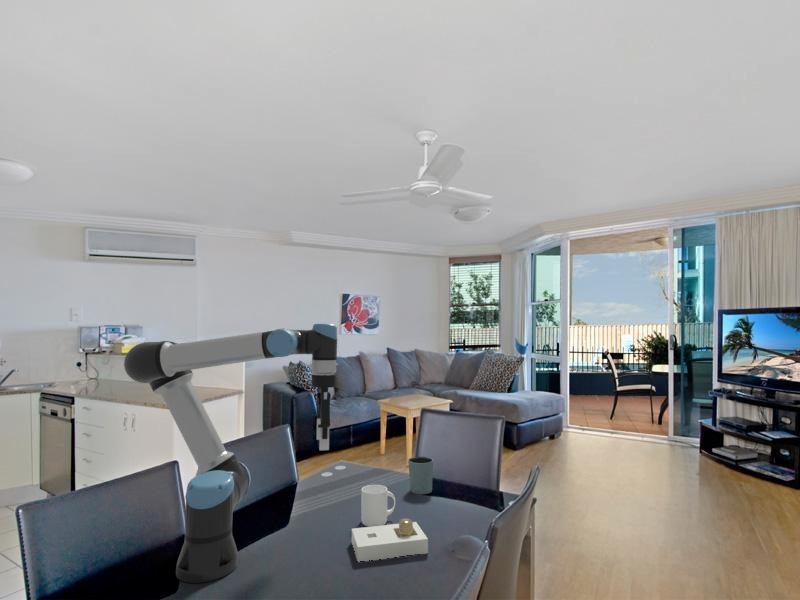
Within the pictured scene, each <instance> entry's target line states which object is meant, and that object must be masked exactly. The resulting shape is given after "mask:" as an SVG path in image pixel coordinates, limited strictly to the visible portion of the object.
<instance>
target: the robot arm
mask: <svg viewBox="0 0 800 600" xmlns="http://www.w3.org/2000/svg"><path fill="white" fill-rule="evenodd" d="M337 354H338V327H337V325H336V324H333V323H314V324H313V325H312V328H311V329H307V330H306V329H288V328H278V329H275V330H269V331H268V330H267V331H262V332H261V331H260V332H255V333H253V332H252V333H247V334H246V333H245V334H239V335H234V336H227V337H218V338H212V339H203V340H198V341H190V342H182V343H178V342H175V341H170V340H162V341H145V342H141V343H137V344H136V345H134V346H133V347H131V349H129V351H128V352H127V353H126V355H125V356H124V362H123V367H124V371H125V373H126V374H127V376H128V377H129V378H130V379H132V381H133V380H134V381H135V382H137V383H141V384H149V386H150V388H151V389H152V392H153V393H154V394H157V395H160V396H162V398H163V400H164V403H165V404H166V406H167V408H168V410H169V413H170V414H171V416H172V419H173V421H174V422H175V425H176V426H177V428H178V431H179V432H180V434H181V436H182V438H183V440H184V442H185V443H186V446H187V447H188V449H189V452H190V454H191V455H192V457H193V460H194V462H195V464H196V465H197V470H196V473H195V476H193V478H191V479H190V480H189V482H188V483H187V486H186V492H185V518H184V519H185V522H184V543H182V547H181V549H180V550H181V551H180V554H179V556H178V559H177V562H176V565H175V577H176V578H177V579H178V580H179V581H181V582H184V583H189V584H197V583H198V584H200V583H206V582H211V581H216V580H218V579H221V578H223V577H225V576H227V575H229V574H231V573H233V571H234V570H236V568H237V566H238V565H239V553H238V549H237V545H236V542H235V539H234V536H233V513H234V512H233V511H234V509H235V508H236V507H237V505H238V504H239V503H240V502H241V501H242V500H244V498H245V497H246V495H247V493H248V492H249V488H250V485H251V482H252V481H251V480H252V479H251V478H252V477H251V473H250V470H249V468H248V467H247V466H246V465H245V463H242V462H241V461H238V459H237V457H236V455H235V453H234V452H232V451H228V450H226V448H225V446H224V443H223V441H222V440H221V437H220V435H219V434H218V432H217V430H216V428H215V426H214V424H213V422H212V420H211V419H210V416H209V414H208V412H207V410H206V409H205V406H204V404H203V402H202V401H201V399H200V397H199V394H198V393H197V390H196V389H195V387H194V385H193V383H192V379H193V376H194V372H193V370H199V369H205V368H212V367H219V366H226V365H227V366H228V365H232V364H239V363H245V362H252V361H259V360H265V359H266V360H267V359H273V358H285V357H289V356H290V355H291V356H292V355H311V356H312V357H311V373H312V375H311V383H310V384H311V387H312V388H317V392H316V404H317V405H316V441H319V444H318V445H319V447H318V449H319V451H329V450H330V427H331V414H330V413H331V410H330V409H331V397H332V395H331V392H330V391H329V388H335V387H336V386H337V375H336V373H337V367H338V366H339V362H337V357H338V355H337Z"/></svg>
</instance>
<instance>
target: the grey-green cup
mask: <svg viewBox="0 0 800 600" xmlns="http://www.w3.org/2000/svg"><path fill="white" fill-rule="evenodd" d="M407 464H408V473H409V474H408V476H409V487H410V492H411V493H412V494H416V495H426V494H427V495H428V494H431V493H432V491H433V479H434V478H433V476H434V475H433V474H434V471H433V470H434V459H433V458H432V457H429V456H414V457H413V456H412V457H410V458H408V459H407Z"/></svg>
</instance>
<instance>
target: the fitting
mask: <svg viewBox="0 0 800 600" xmlns="http://www.w3.org/2000/svg"><path fill="white" fill-rule="evenodd" d="M413 522H414V521H413V519H410V518H401V519H399V520H398V524H399V537H406V536H413Z"/></svg>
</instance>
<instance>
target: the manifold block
mask: <svg viewBox="0 0 800 600" xmlns="http://www.w3.org/2000/svg"><path fill="white" fill-rule="evenodd" d="M351 545H353V546H352V548H354V549H353V552H354V551H355V552H354V555H355V559H356V561H358V562H357V563H361V562H360V561H365V562H372V561H371V560H373V561H379V559H381V560H388V559H387V558H389V559H395V558H394V557H397V558H400V557H399V556H405V557H407V556H406V555H413V556H415V555H414V554H421V555H427V553H428V554H429V539H428V537H427V535H426V533H424V531H423V530H422V528H421V527H420V525H419V524H418V522H417V521H413V536H406V537H399V523H390V524H384V525H381V526H372V527H368V526H365V527H356V528H355V527H354V528H351ZM369 560H370V561H369Z"/></svg>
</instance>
